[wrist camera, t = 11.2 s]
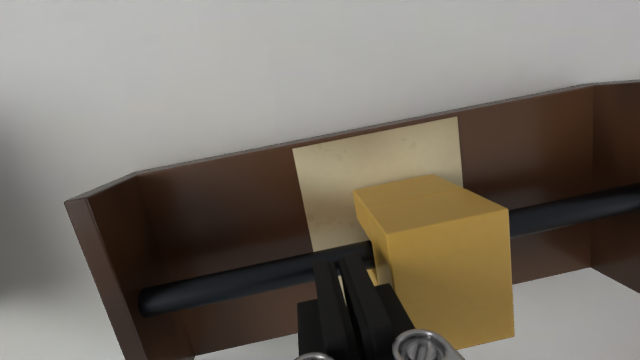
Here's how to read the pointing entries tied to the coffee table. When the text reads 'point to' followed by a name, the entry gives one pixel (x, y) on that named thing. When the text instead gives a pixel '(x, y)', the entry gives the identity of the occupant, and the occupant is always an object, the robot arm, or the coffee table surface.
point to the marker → (442, 256)
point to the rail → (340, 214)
